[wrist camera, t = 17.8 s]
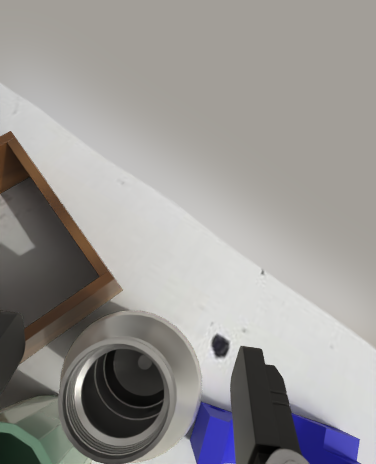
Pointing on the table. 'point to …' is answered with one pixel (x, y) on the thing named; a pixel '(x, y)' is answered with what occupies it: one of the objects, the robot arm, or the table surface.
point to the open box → (103, 288)
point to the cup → (36, 434)
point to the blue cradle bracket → (308, 432)
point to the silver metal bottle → (129, 388)
